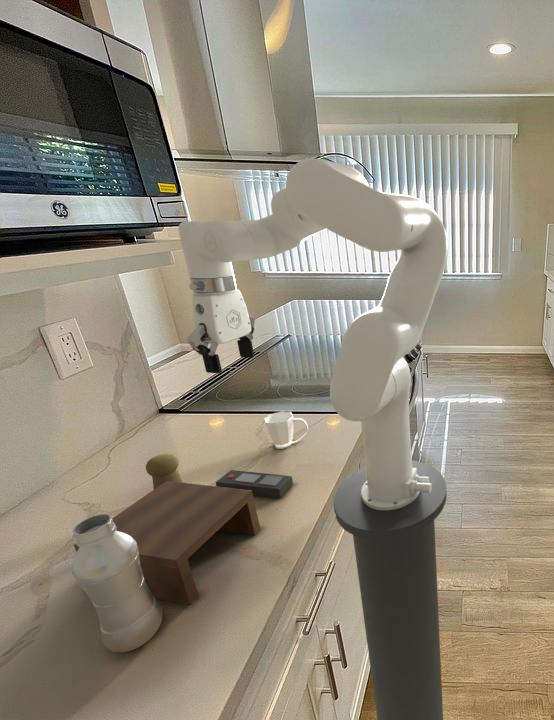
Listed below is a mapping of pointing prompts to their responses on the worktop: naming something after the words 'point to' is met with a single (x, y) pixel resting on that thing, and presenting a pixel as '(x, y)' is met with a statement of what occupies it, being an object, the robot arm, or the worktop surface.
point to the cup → (282, 428)
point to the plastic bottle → (115, 584)
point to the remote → (257, 483)
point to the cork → (163, 469)
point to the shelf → (182, 531)
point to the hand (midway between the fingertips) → (231, 364)
